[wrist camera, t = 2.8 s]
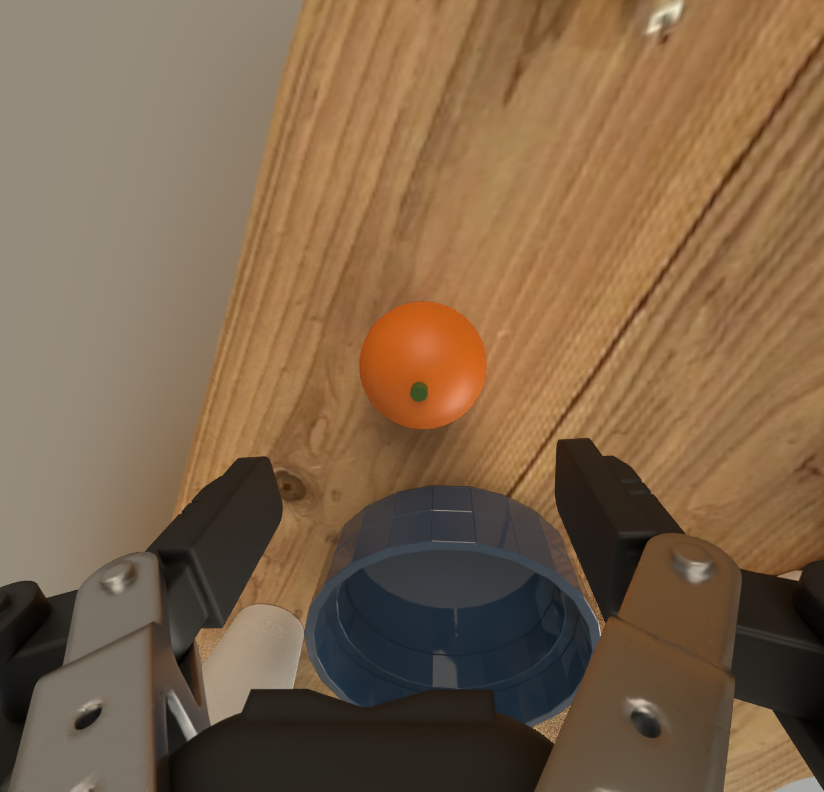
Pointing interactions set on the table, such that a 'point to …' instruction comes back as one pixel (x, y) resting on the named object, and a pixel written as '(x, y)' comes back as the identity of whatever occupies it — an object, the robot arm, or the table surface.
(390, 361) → the mandarin
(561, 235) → the table surface
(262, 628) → the dixie cup
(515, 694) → the bowl
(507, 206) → the table surface
